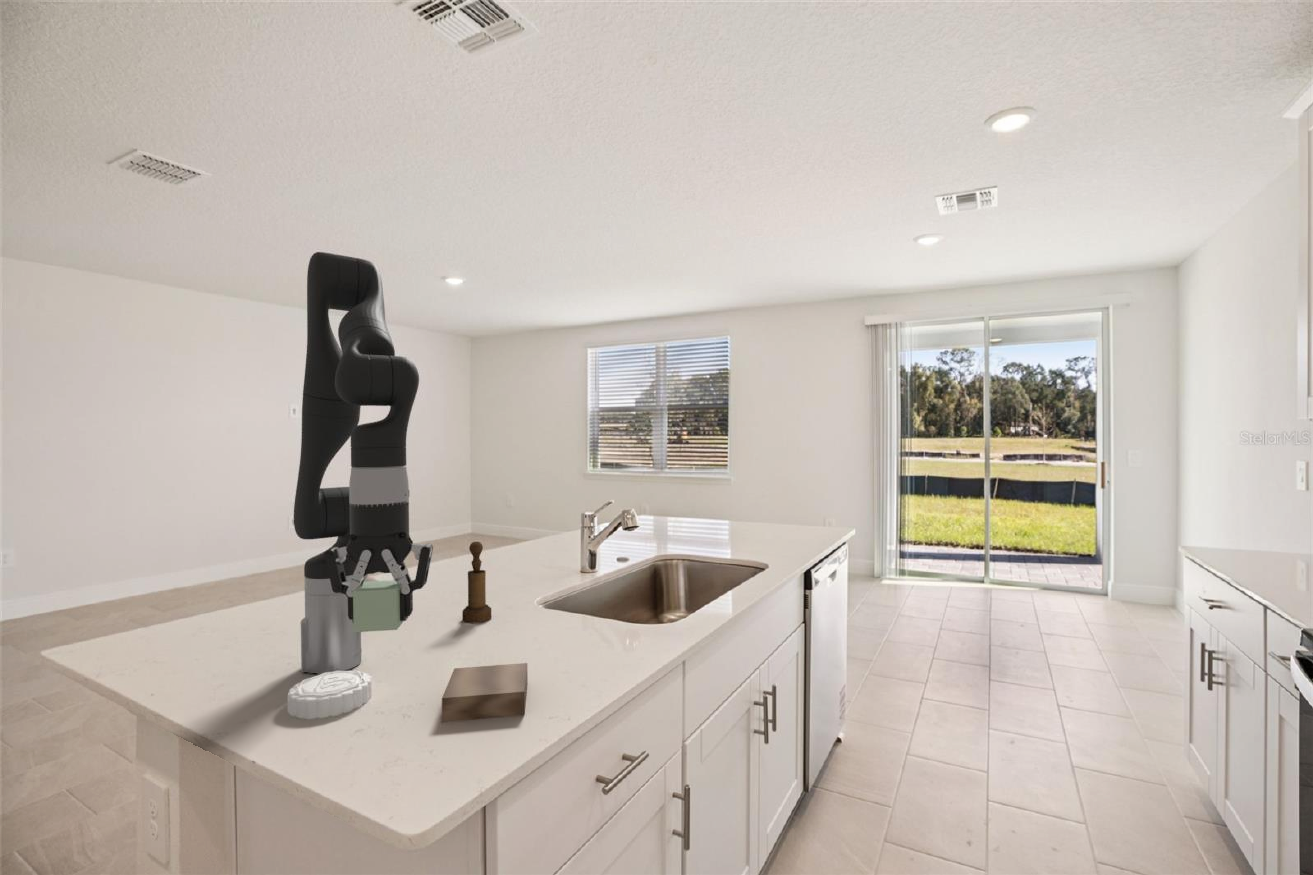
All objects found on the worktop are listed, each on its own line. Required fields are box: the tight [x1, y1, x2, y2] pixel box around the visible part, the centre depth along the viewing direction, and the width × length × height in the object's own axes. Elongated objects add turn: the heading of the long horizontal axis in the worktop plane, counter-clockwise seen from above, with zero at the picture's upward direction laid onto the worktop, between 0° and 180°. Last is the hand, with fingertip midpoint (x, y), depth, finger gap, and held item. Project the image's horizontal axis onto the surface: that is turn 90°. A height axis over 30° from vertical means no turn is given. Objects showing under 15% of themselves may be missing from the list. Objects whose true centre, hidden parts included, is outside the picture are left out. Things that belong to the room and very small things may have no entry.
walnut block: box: [441, 662, 529, 723], centre depth 99 cm, size 12×12×4 cm
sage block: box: [353, 579, 405, 633], centre depth 86 cm, size 6×6×6 cm
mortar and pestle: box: [461, 541, 493, 624], centre depth 144 cm, size 7×6×18 cm
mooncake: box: [287, 670, 373, 720], centre depth 100 cm, size 12×12×4 cm
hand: (381, 620), depth 86 cm, fingers closed on sage block, 5 cm apart
